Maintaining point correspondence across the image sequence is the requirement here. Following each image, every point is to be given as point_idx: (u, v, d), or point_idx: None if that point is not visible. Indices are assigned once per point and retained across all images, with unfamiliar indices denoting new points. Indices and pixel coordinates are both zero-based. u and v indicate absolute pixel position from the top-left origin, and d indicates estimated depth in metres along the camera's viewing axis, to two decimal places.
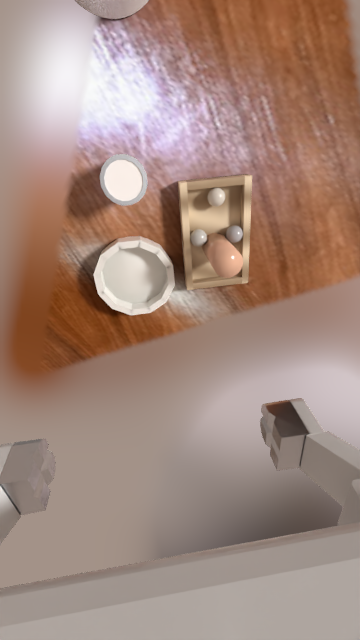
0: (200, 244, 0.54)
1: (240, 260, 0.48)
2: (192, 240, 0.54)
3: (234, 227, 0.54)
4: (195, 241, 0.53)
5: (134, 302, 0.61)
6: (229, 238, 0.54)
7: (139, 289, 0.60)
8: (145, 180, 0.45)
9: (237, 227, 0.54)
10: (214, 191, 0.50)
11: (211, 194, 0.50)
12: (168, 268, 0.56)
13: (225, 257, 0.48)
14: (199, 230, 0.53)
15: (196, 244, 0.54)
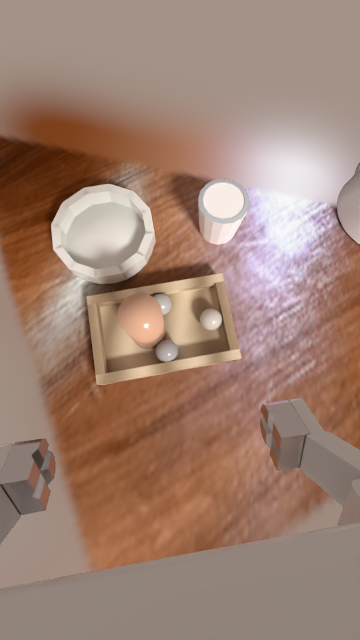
0: None
1: (145, 331, 0.32)
2: (158, 294, 0.41)
3: (176, 347, 0.40)
4: (158, 296, 0.41)
5: (67, 237, 0.46)
6: (161, 342, 0.40)
7: (86, 243, 0.46)
8: (227, 221, 0.40)
9: (176, 351, 0.40)
10: (218, 313, 0.41)
11: (215, 310, 0.41)
12: (118, 267, 0.42)
13: (149, 308, 0.33)
14: (171, 303, 0.42)
15: None
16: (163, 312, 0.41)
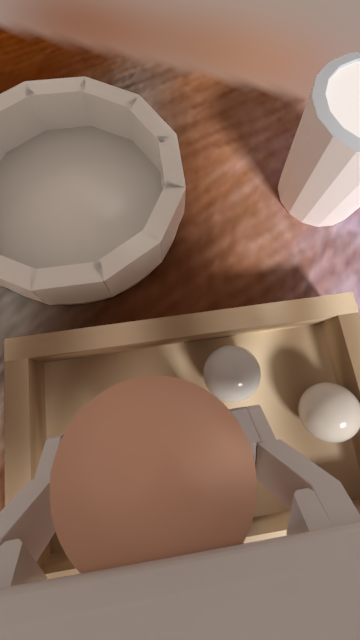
0: (253, 383, 0.15)
1: None
2: (249, 353, 0.16)
3: None
4: (256, 362, 0.16)
5: None
6: None
7: (26, 209, 0.20)
8: None
9: None
10: (357, 400, 0.15)
11: (346, 390, 0.15)
12: (93, 267, 0.17)
13: (197, 451, 0.07)
14: None
15: (252, 368, 0.15)
16: None
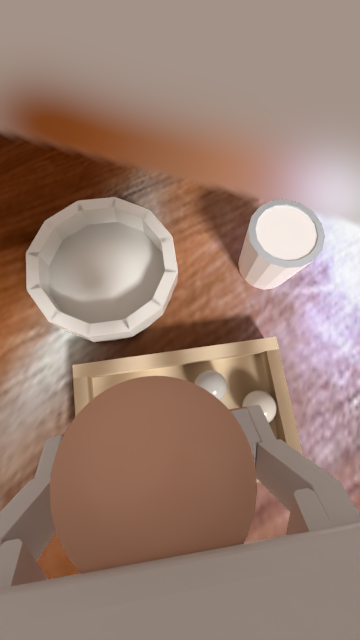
0: (224, 393, 0.27)
1: None
2: None
3: None
4: (225, 381, 0.28)
5: (50, 270, 0.32)
6: None
7: (77, 279, 0.32)
8: (292, 264, 0.26)
9: None
10: (272, 400, 0.27)
11: (267, 395, 0.27)
12: (123, 322, 0.28)
13: (197, 451, 0.07)
14: None
15: (225, 385, 0.27)
16: None
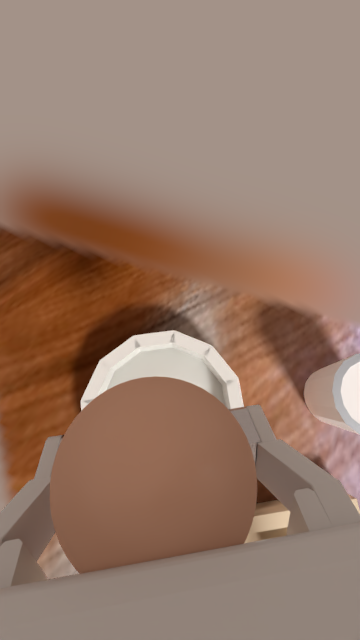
0: None
1: None
2: None
3: None
4: None
5: None
6: None
7: None
8: None
9: None
10: None
11: None
12: None
13: (197, 452, 0.07)
14: None
15: None
16: None
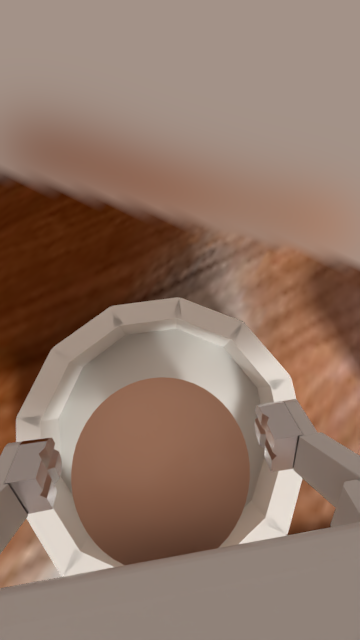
0: None
1: (183, 548, 0.08)
2: None
3: None
4: None
5: (61, 427, 0.18)
6: None
7: None
8: None
9: None
10: None
11: None
12: None
13: (198, 442, 0.08)
14: None
15: None
16: None
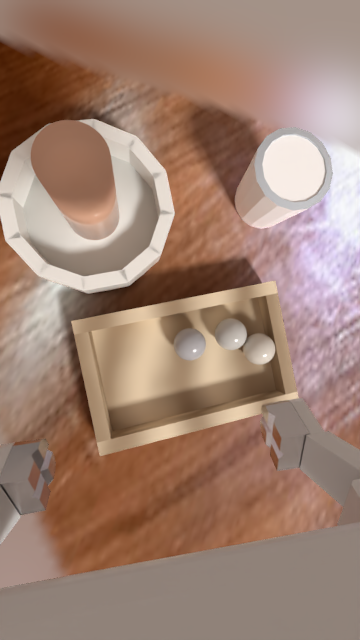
0: None
1: (83, 189, 0.19)
2: None
3: None
4: None
5: (26, 213, 0.28)
6: None
7: (59, 223, 0.28)
8: (299, 206, 0.25)
9: None
10: (272, 342, 0.28)
11: (267, 337, 0.28)
12: (120, 273, 0.27)
13: (88, 149, 0.19)
14: None
15: None
16: None
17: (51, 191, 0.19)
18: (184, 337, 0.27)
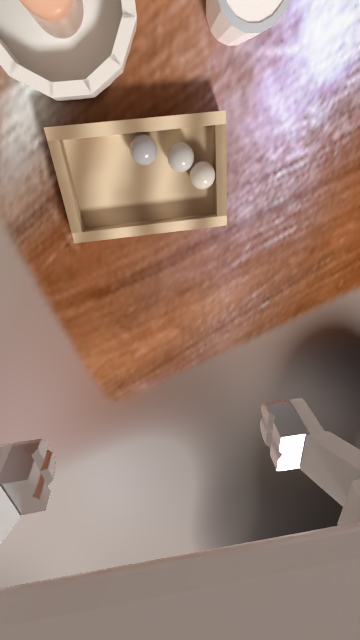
0: None
1: None
2: None
3: (156, 153, 0.34)
4: None
5: None
6: (142, 163, 0.34)
7: (22, 12, 0.28)
8: (252, 29, 0.26)
9: None
10: (213, 171, 0.35)
11: (209, 166, 0.34)
12: (84, 83, 0.29)
13: None
14: None
15: None
16: None
17: None
18: None
